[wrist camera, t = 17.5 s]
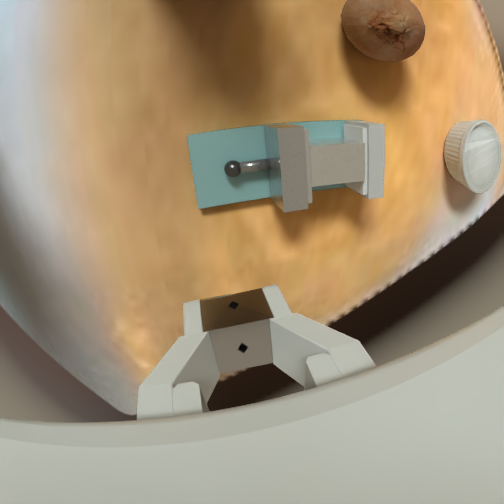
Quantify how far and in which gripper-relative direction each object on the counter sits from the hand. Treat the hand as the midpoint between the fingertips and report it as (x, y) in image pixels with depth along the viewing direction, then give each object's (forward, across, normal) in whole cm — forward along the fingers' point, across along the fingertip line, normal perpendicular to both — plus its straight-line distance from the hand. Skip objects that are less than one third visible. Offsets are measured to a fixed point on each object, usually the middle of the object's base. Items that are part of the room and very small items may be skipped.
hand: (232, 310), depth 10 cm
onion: (+25, -21, -16) cm, 36 cm away
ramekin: (+25, -39, 0) cm, 46 cm away
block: (+24, -13, 0) cm, 27 cm away
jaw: (+23, -6, 0) cm, 24 cm away
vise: (+25, -9, 0) cm, 26 cm away
